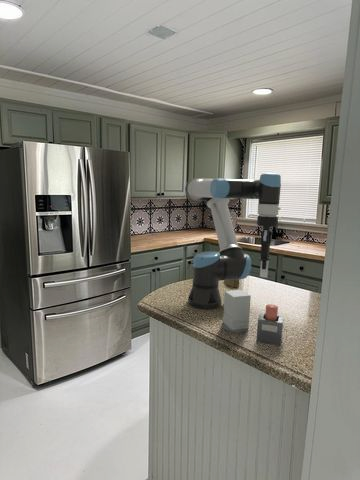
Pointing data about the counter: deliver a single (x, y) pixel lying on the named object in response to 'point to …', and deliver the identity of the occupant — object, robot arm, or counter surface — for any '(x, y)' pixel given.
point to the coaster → (234, 330)
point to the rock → (232, 283)
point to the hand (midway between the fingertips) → (263, 276)
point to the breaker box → (270, 329)
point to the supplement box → (236, 309)
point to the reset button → (271, 312)
